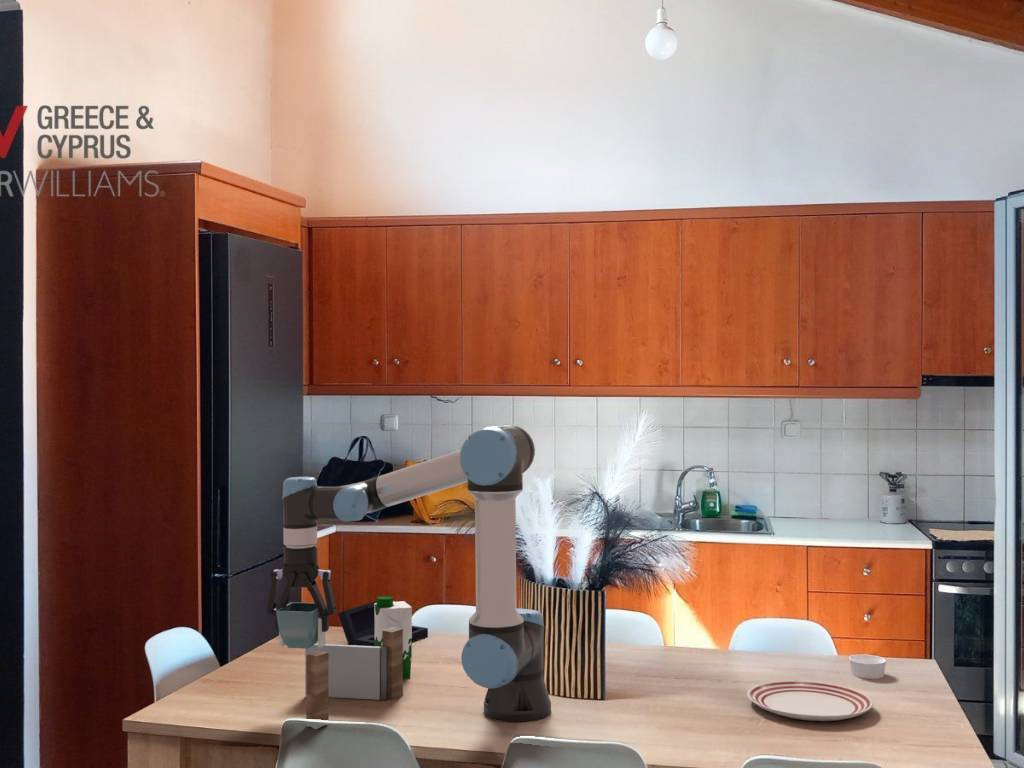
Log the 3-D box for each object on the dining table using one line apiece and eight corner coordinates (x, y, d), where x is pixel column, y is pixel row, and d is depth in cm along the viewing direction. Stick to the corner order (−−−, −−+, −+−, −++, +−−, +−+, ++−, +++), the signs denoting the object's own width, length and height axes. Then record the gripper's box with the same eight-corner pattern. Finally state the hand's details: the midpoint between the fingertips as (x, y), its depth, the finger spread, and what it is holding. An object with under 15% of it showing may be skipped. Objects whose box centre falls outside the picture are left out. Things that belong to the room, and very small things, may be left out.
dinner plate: (723, 698, 235) (723, 684, 235) (820, 686, 245) (820, 672, 245) (795, 738, 210) (796, 722, 210) (900, 722, 219) (900, 707, 219)
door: (389, 696, 234) (389, 644, 234) (385, 700, 231) (385, 648, 231) (310, 691, 237) (310, 641, 237) (305, 695, 234) (305, 644, 234)
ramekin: (850, 679, 250) (850, 662, 250) (847, 669, 258) (847, 652, 258) (888, 682, 248) (888, 664, 248) (883, 672, 256) (883, 655, 256)
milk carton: (371, 673, 254) (371, 594, 254) (405, 669, 257) (405, 591, 257) (379, 683, 246) (379, 601, 246) (415, 679, 249) (415, 599, 249)
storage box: (383, 653, 273) (383, 617, 273) (337, 645, 282) (337, 609, 282) (427, 636, 291) (427, 602, 291) (383, 629, 299) (383, 596, 299)
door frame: (402, 696, 235) (402, 628, 235) (316, 731, 212) (316, 656, 212) (392, 694, 237) (393, 627, 237) (306, 728, 214) (306, 653, 214)
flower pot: (313, 651, 222) (312, 611, 222) (276, 650, 223) (275, 610, 223) (328, 641, 230) (327, 602, 230) (292, 640, 232) (291, 602, 232)
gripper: (350, 543, 229) (352, 642, 229) (262, 542, 232) (264, 640, 232) (340, 548, 221) (342, 650, 221) (249, 547, 225) (251, 648, 225)
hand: (302, 645), depth 227 cm, fingers closed on flower pot, 8 cm apart
